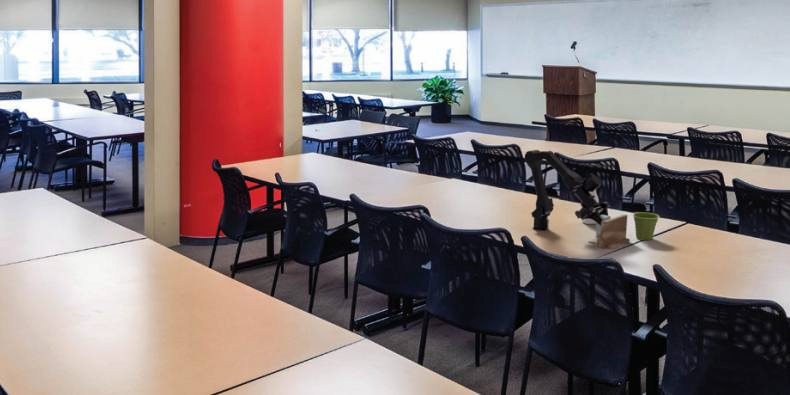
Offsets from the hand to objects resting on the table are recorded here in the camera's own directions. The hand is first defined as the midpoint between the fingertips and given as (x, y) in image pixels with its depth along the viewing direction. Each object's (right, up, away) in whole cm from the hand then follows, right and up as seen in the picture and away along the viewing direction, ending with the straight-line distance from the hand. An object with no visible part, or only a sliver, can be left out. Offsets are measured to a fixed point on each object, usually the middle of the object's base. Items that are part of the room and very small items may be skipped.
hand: (605, 224), depth 333 cm
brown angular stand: (+1, -8, +1) cm, 8 cm away
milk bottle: (+3, -1, +37) cm, 37 cm away
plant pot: (+20, -7, +8) cm, 23 cm away
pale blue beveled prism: (-1, -6, +2) cm, 7 cm away
